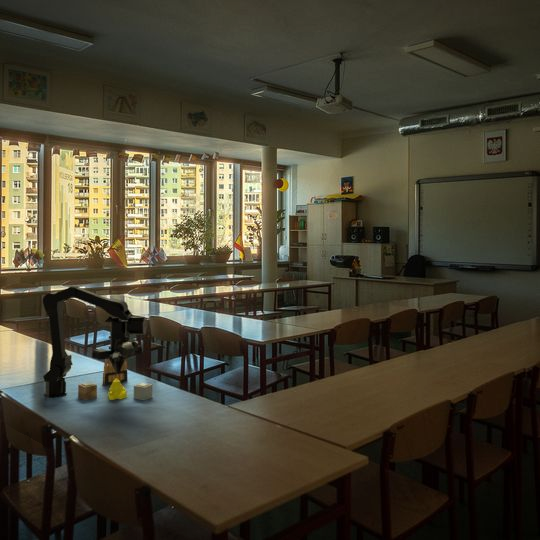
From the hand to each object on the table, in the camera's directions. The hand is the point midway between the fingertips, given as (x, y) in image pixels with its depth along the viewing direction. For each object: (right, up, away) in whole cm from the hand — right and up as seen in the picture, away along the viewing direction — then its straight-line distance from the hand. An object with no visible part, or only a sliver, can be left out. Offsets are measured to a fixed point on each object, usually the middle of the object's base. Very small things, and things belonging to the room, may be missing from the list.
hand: (117, 373), depth 203 cm
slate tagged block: (+9, -9, +1) cm, 13 cm away
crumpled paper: (0, -9, +1) cm, 9 cm away
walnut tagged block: (-11, -9, -1) cm, 14 cm away
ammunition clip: (-7, -8, +20) cm, 23 cm away
